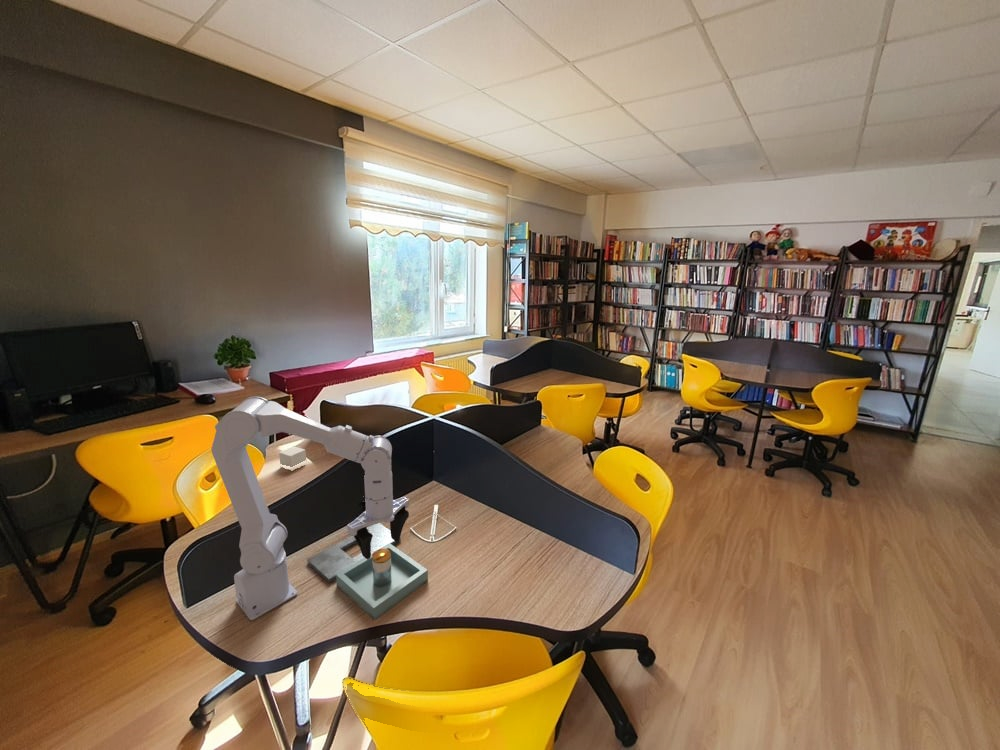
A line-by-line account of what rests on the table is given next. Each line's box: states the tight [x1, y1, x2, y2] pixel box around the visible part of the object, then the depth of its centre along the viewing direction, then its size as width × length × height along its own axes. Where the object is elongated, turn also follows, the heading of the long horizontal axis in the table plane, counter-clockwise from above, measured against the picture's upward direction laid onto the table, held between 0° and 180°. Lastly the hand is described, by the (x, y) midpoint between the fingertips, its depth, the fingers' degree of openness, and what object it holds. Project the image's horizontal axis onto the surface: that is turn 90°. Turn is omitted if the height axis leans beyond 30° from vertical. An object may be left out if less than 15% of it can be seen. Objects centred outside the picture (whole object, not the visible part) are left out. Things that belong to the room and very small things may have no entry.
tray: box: [335, 543, 429, 621], centre depth 92 cm, size 14×14×3 cm
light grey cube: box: [278, 445, 307, 467], centre depth 144 cm, size 6×6×6 cm
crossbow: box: [409, 504, 457, 543], centre depth 115 cm, size 16×13×2 cm
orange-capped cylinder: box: [372, 549, 392, 587], centre depth 92 cm, size 4×4×7 cm
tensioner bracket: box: [306, 523, 402, 584], centre depth 102 cm, size 20×10×1 cm, turn 141°
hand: (381, 547), depth 90 cm, fingers open, 7 cm apart
